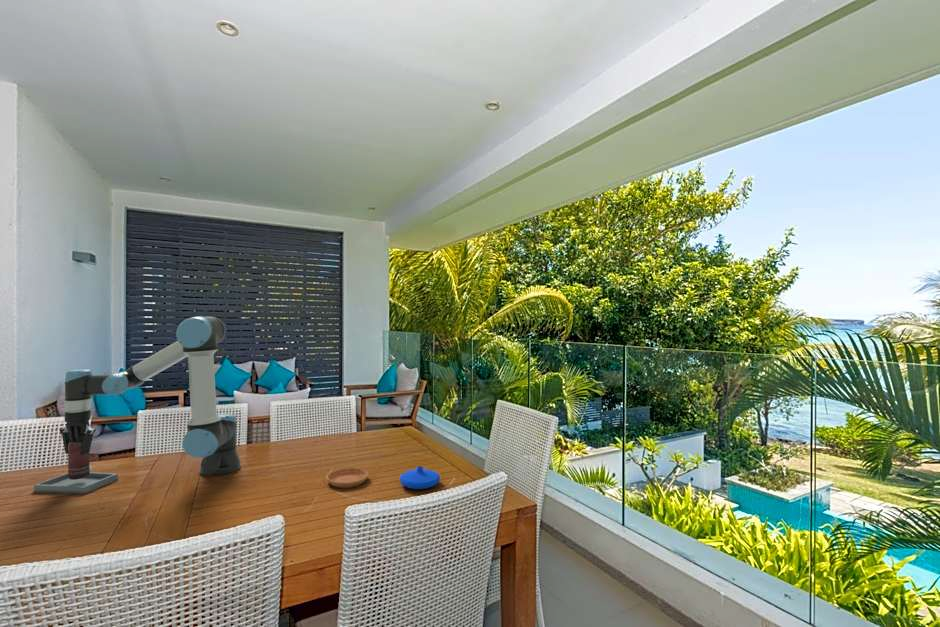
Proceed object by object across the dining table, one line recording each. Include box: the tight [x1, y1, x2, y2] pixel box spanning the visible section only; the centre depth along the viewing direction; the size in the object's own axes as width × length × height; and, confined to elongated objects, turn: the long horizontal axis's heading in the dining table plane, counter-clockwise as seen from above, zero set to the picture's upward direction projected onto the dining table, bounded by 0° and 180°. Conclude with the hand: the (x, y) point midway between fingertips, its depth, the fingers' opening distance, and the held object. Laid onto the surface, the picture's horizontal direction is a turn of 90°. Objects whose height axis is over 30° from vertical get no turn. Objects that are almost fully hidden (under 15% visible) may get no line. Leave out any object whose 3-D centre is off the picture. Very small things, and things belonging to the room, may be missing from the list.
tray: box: [33, 471, 119, 495], centre depth 169 cm, size 20×14×2 cm
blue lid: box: [399, 465, 441, 490], centre depth 173 cm, size 16×16×7 cm
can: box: [67, 442, 90, 480], centre depth 169 cm, size 6×6×14 cm
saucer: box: [326, 467, 369, 489], centre depth 176 cm, size 16×16×3 cm
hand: (77, 472), depth 169 cm, fingers closed
